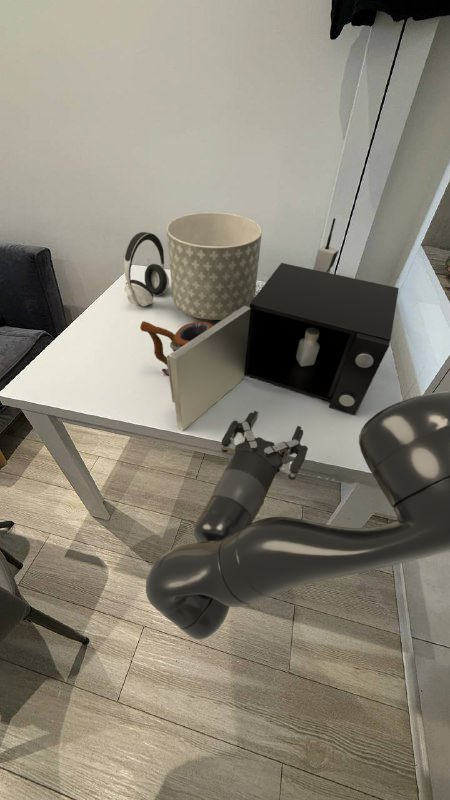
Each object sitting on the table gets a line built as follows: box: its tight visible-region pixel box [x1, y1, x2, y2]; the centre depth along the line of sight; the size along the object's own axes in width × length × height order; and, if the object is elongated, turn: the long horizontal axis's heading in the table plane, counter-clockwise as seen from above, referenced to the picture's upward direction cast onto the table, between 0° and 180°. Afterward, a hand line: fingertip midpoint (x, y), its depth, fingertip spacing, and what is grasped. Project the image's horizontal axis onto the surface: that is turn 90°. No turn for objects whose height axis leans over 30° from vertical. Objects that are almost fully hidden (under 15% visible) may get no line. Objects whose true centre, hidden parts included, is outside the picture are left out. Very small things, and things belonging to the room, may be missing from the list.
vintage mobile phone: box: [313, 217, 340, 273], centre depth 100 cm, size 4×5×25 cm
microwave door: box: [166, 306, 251, 432], centre depth 69 cm, size 5×22×20 cm, turn 141°
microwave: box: [244, 262, 399, 416], centre depth 77 cm, size 24×28×20 cm
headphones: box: [123, 231, 170, 307], centre depth 99 cm, size 19×8×20 cm, turn 157°
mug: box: [139, 320, 214, 376], centre depth 76 cm, size 18×12×15 cm, turn 78°
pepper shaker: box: [296, 327, 320, 366], centre depth 81 cm, size 4×4×10 cm
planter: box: [166, 211, 263, 321], centre depth 95 cm, size 25×25×24 cm
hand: (277, 421), depth 62 cm, fingers open, 8 cm apart
